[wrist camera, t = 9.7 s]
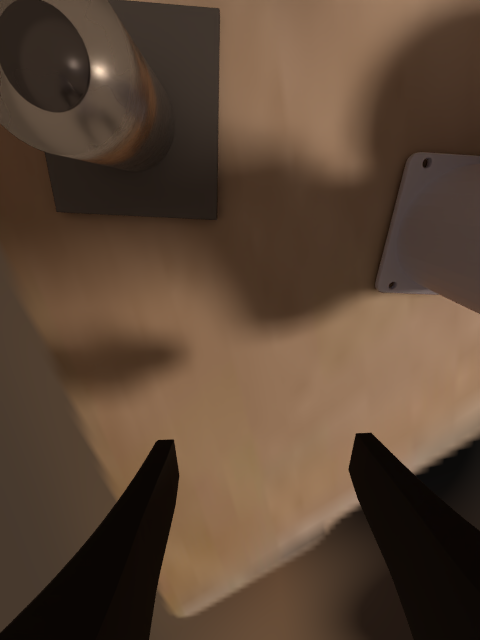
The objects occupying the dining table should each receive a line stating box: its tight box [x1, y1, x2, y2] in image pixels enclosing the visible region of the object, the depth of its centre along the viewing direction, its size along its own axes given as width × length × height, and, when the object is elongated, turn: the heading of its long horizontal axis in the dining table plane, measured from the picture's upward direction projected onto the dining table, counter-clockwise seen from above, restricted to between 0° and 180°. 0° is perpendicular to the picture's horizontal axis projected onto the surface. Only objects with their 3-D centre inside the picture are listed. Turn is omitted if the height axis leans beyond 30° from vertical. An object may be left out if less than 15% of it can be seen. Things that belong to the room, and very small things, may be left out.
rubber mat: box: [45, 0, 220, 220], centre depth 15 cm, size 9×9×1 cm
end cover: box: [0, 0, 175, 172], centre depth 11 cm, size 5×5×7 cm
